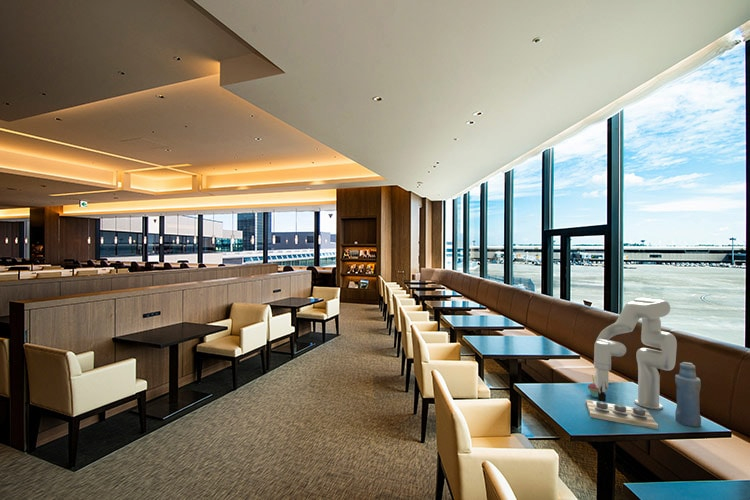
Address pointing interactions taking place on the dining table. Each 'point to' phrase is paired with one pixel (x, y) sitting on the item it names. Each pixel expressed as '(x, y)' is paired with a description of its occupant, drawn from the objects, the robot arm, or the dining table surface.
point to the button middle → (620, 408)
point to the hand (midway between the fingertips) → (601, 400)
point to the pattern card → (613, 406)
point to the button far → (602, 405)
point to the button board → (621, 416)
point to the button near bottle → (639, 411)
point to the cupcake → (593, 389)
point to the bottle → (688, 396)
